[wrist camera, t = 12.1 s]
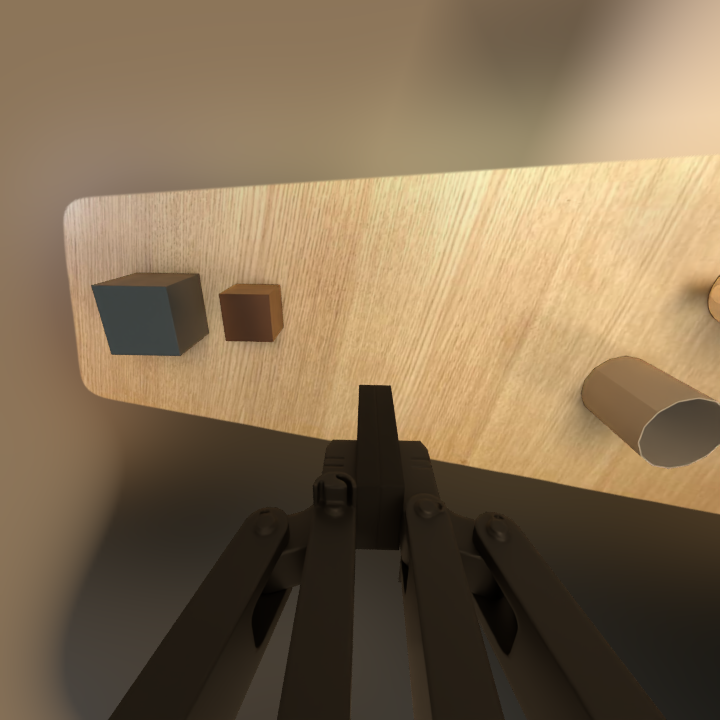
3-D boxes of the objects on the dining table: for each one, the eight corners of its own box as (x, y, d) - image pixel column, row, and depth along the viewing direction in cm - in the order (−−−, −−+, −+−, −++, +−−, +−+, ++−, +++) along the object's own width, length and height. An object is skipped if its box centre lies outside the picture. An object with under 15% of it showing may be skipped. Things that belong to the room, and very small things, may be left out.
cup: (656, 401, 44) (732, 451, 35) (589, 424, 46) (646, 479, 37) (645, 345, 41) (725, 384, 32) (575, 372, 43) (632, 417, 34)
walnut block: (280, 284, 39) (269, 294, 34) (283, 327, 41) (273, 341, 36) (235, 283, 39) (218, 293, 34) (241, 326, 41) (225, 341, 36)
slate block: (199, 273, 39) (165, 286, 32) (209, 333, 41) (180, 356, 35) (136, 272, 39) (90, 285, 32) (150, 332, 41) (111, 354, 35)
